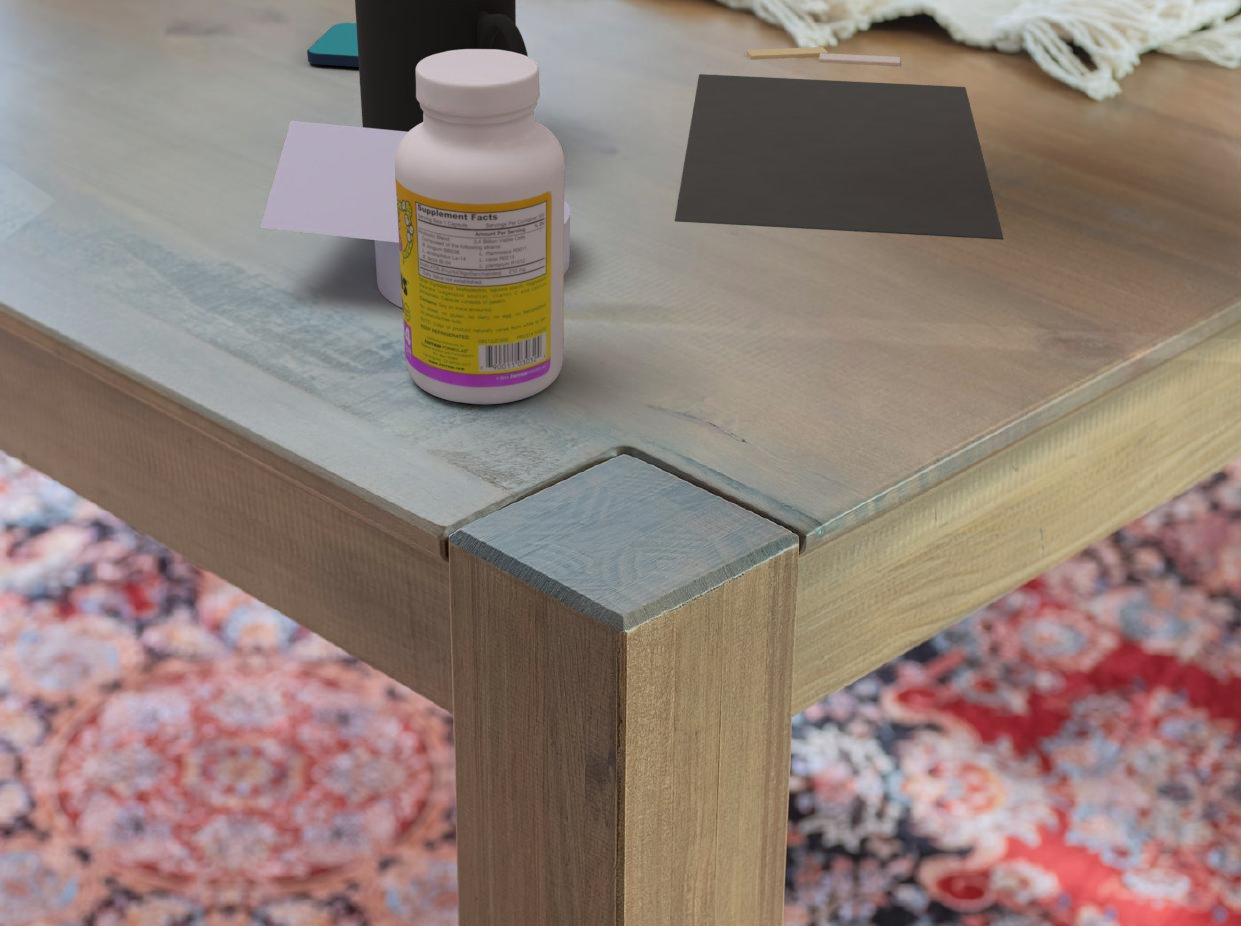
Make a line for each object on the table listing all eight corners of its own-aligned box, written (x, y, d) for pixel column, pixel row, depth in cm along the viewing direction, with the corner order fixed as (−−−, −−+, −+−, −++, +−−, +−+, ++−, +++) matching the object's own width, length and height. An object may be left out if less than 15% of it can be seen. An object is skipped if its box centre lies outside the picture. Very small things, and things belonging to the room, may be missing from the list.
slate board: (963, 103, 101) (965, 86, 101) (1000, 258, 82) (1004, 238, 81) (698, 90, 103) (699, 73, 102) (673, 239, 83) (674, 220, 83)
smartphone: (336, 19, 110) (560, 32, 108) (337, 32, 111) (560, 45, 109) (303, 53, 105) (539, 67, 103) (304, 66, 105) (539, 81, 103)
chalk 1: (826, 71, 106) (821, 65, 107) (828, 52, 105) (822, 46, 106) (750, 74, 105) (745, 69, 106) (751, 55, 105) (746, 49, 106)
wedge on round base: (267, 297, 77) (541, 330, 75) (252, 153, 73) (542, 182, 71) (335, 226, 84) (588, 253, 82) (325, 90, 80) (591, 115, 78)
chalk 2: (897, 76, 106) (899, 56, 105) (898, 81, 105) (900, 62, 104) (817, 72, 106) (819, 52, 105) (817, 77, 105) (819, 58, 104)
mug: (462, 221, 85) (456, 8, 79) (335, 155, 92) (321, -44, 86) (590, 186, 89) (594, -18, 83) (458, 126, 97) (453, -66, 90)
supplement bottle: (446, 330, 74) (436, 31, 67) (585, 356, 73) (591, 51, 65) (377, 393, 69) (358, 78, 62) (525, 423, 67) (524, 102, 60)
